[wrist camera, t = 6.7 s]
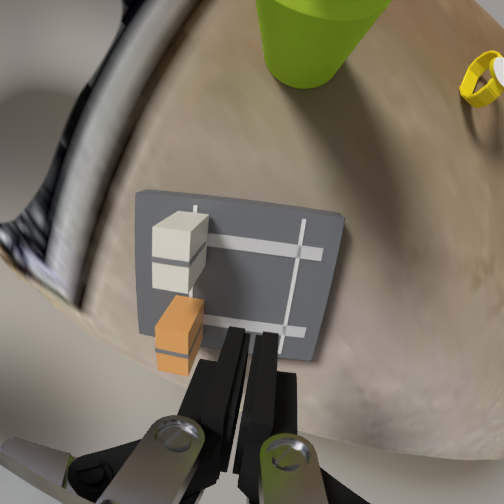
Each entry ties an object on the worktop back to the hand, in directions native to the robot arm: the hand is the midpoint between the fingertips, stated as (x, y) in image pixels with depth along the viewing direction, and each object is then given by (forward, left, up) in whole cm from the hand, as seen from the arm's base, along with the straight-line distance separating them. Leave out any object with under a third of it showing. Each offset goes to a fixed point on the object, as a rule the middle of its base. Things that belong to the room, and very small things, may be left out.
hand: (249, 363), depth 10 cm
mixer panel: (+2, +3, -15) cm, 16 cm away
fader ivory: (+6, 0, -13) cm, 14 cm away
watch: (-17, -18, -16) cm, 29 cm away
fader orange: (+5, +7, -13) cm, 16 cm away
